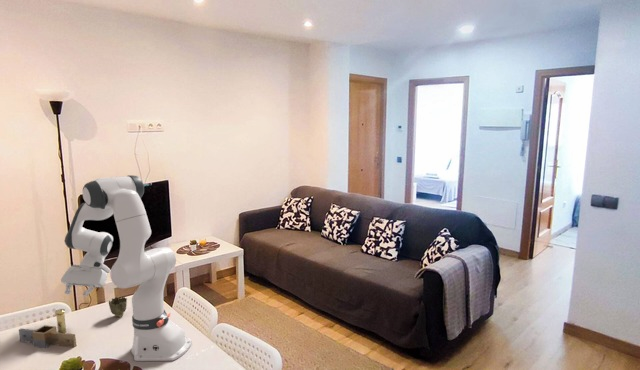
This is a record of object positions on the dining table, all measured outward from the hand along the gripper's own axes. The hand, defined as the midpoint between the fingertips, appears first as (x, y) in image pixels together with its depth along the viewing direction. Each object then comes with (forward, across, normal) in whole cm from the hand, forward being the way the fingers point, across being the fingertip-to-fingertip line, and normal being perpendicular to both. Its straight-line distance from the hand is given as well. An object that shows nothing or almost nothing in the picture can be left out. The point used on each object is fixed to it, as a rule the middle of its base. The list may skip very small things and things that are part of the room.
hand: (75, 294), depth 170 cm
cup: (+4, +14, +15) cm, 21 cm away
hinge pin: (+15, 0, +3) cm, 16 cm away
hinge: (+21, 0, -3) cm, 21 cm away
